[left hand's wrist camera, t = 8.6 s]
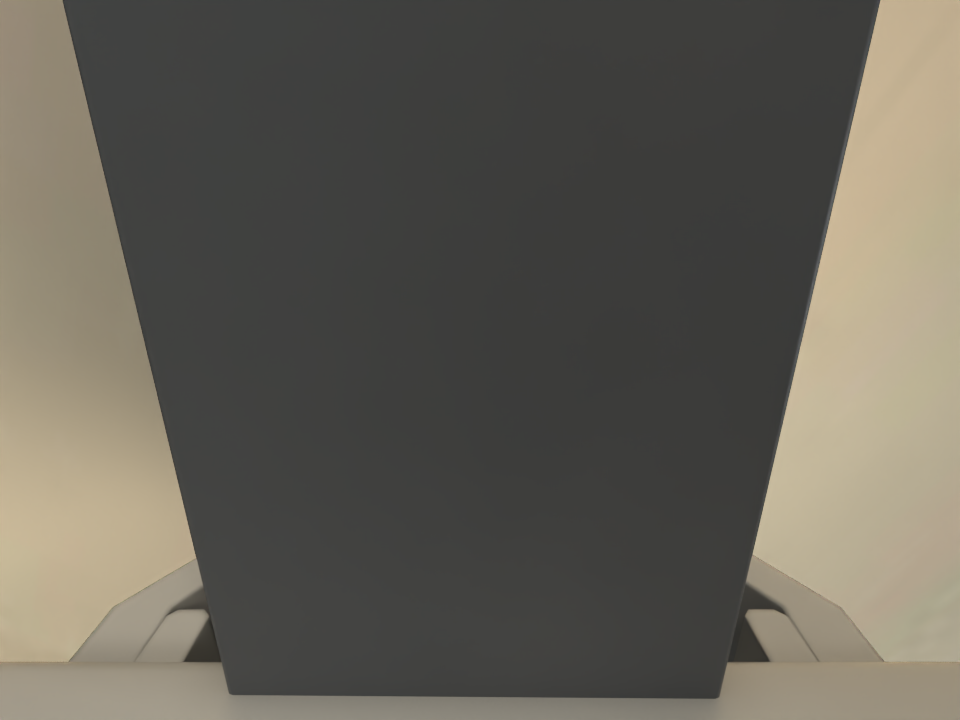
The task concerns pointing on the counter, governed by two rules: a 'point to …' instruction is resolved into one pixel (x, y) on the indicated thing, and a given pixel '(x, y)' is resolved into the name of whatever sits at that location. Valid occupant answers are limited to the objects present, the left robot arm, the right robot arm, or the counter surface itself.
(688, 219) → the bar
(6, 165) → the counter surface
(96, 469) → the counter surface
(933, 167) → the counter surface
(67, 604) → the counter surface
